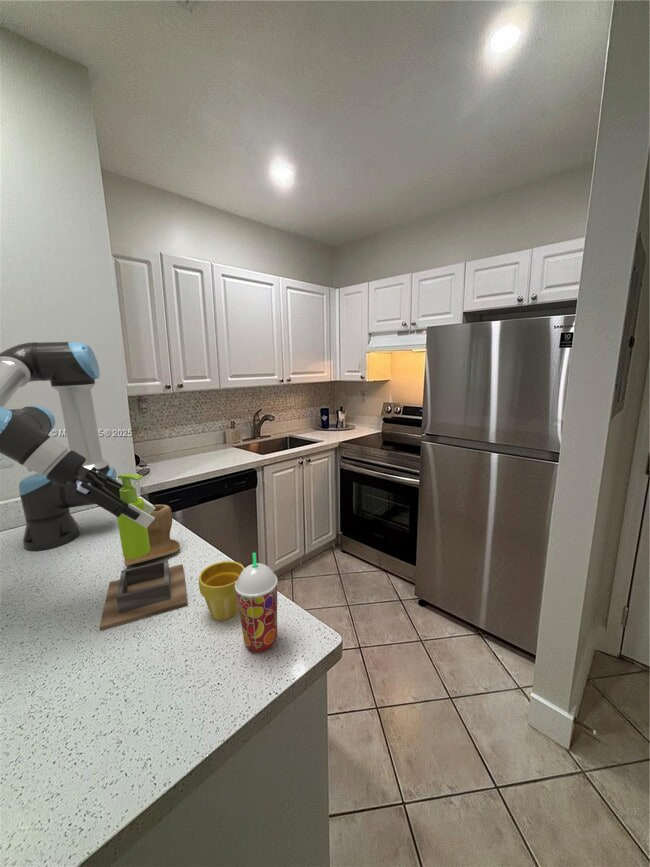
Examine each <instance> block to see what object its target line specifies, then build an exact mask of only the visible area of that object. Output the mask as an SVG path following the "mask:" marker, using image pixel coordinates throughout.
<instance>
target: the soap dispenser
mask: <svg viewBox="0 0 650 867" xmlns="http://www.w3.org/2000/svg"><path fill="white" fill-rule="evenodd" d="M143 477H144V476H143V475H141V474H137V473H122V474H119V475H116V478H117V479H118V480H119V479H120V480H121V484H122V485H123V487H122V488H121V489H120V490H119V492H120V499H122V500H123V501H124V502H126V503H127V504H128V505H129V504H132V505H134V506H136V507H137V508H139V509H141V510H142V511H144V512H145V508H144V501H145V500H144V498H142V497H138V494H137V487H136V486H135V485H132V482H131V480H132V481H138V480H140V479H142V478H143ZM137 497H138V498H137ZM116 519H117V524H118V532H119V537H120V538H119V539H120V543H121V544H120V545H121V551H122V556H123V557H124V558H127V559H134V558H139V557H142V556H144V555H146V554H147V553H148V552H149V551H150V543H149V536H148V529H147V528H145V527H144V526H142V525H140V524H138V523H136V522H135V521H133V520H131V519H129V518H128V517H126V516H124V515H122V514H121V515H120V516H119V517H116Z"/></svg>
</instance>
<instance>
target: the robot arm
mask: <svg viewBox="0 0 650 867" xmlns="http://www.w3.org/2000/svg"><path fill="white" fill-rule="evenodd" d="M100 375H101V373H100V366H99V363H98V360H97V357H96V355H95V353H94V350H93V349H92V348H91V346H90V345H89V344H87V343H86V342H78V341H76V342H75V341H55V342H53V341H50V342H49V341H46V342H44V341H43V342H35V341H32V342H31V341H30V342H25V343H20V344H17V345H14V346H12V347H9V348H7V349H6V350H3V351H1V352H0V454H1V455H3V456H4V457H5V456H6V457H7V458H9V459H11V460H13V461H14V462H16V463H18V464H19V465H21V466H23V467H25V468H27V471H28V472H34V474H31V475H29V476H27V477H25V478H23V479H21V480H20V482H19V483H18V489H19V490H18V491H19V497H20V501H21V506H22V508H23V514H24V518H25V523H26V526H25V530H24V534H23V535H24V536H23V539H22V542H23V543H22V544H23V547H24V549H25V550H26V551H32V552H33V551H34V552H35V551H44V550H49V549H52V548H58V547H60V546H63V545H66V544H67V543H70V542H72V541H73V540H75V539H77V538H78V537H79V536H80V534H81V531H80V530H81V529H80V526H79V525H78V522H77V521H76V520H75V518H74V516H73V515H72V514H71V510H70V509H71V508H77V507H78V508H79V507H85V506H92V505H97V506H98V507H100V508H102V509H103V510H106V512H109V513H110V514H112V515H114V516H115V517H116V518H117V517H119V516H120V515H121V514H122V515H124V516H126V517H128V518H129V519H131V520H133V521H135V522H136V523H138V524H140V525H142V526H144V527H145V528H147V527H148V526H149V525H150V524H151V523H152V522H153V520H154V519H155V518H154V517H153V516H151V515H150V514H151V513H152V512H153V511H154V510H155V507H153V506H152V504H150V503H148V502H147V501H145V500H143V501H144V508H145V512H144V511H142V510H141V509H139V508H137V507H136V506H134V505H132V504H129V505H128V504H127V503H126V502H124V501H123V500H122V499H120V492H119V490H120V489H121V488H122V487H123V484H122V482H119V481H118V480H117V472H116V471H117V470H116V468H115V467H110V464H109V462H108V461H106V460H105V459H103V455H102V449H101V448H102V447H101V444H100V437H99V431H98V424H97V420H96V414H95V413H96V412H95V407H94V401H93V395H92V388H93V387H95V385H96V382H95V380H97V379H99V378H100ZM41 381H43V382H45V381H46V382H47V381H50V385H51V388H53V389H54V390H56V391H57V392H58V396H59V401H60V406H61V410H62V412H61V413H62V416H63V421H64V422H63V423H64V427H65V432H66V438H67V442H68V444H67V445H66V444H64V443H62V442H61V441H59V440H58V439H55V438H54V437H52V436H50V435H49V434H50V433H51V432H52V431H53V430H54V427H55V425H56V418H55V416H54V415H53V413H52V412H51V411H50V410H49V409H48V408H46V407H43V406H40V405H30V406H24V407H22V408H16V409H8V408H7V409H6V408H4V407H5V405H7V403H8V402H9V401H10V400H11V398H12V397H13V396H14V394H15V393H16V392H17V390H18V389H19V388H22V387H25V386H26V385H28V383H31V382H41ZM137 498H139V497H138V496H137Z"/></svg>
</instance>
